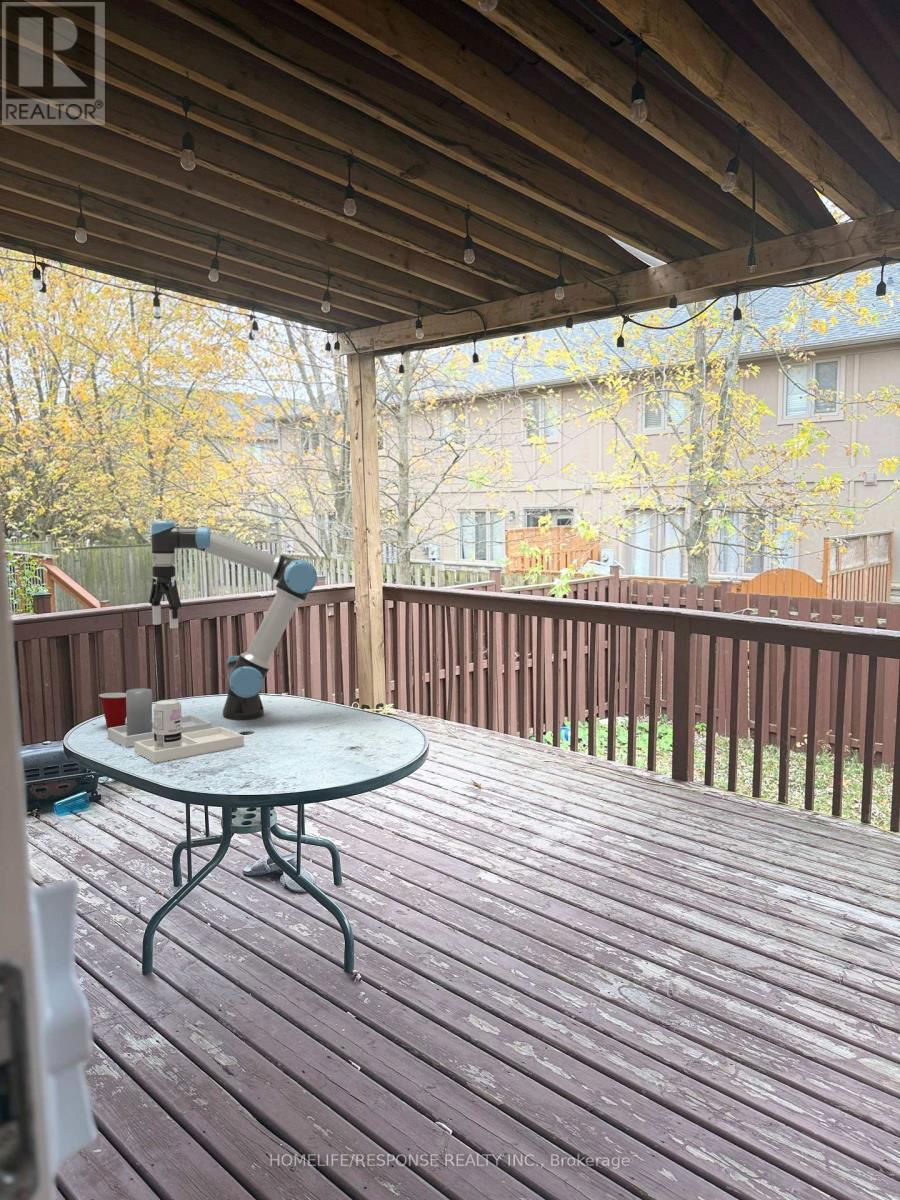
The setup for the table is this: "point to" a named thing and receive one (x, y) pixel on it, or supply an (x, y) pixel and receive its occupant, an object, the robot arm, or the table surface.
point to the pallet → (192, 744)
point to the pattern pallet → (130, 740)
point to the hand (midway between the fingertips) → (165, 626)
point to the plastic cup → (114, 709)
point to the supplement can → (167, 724)
